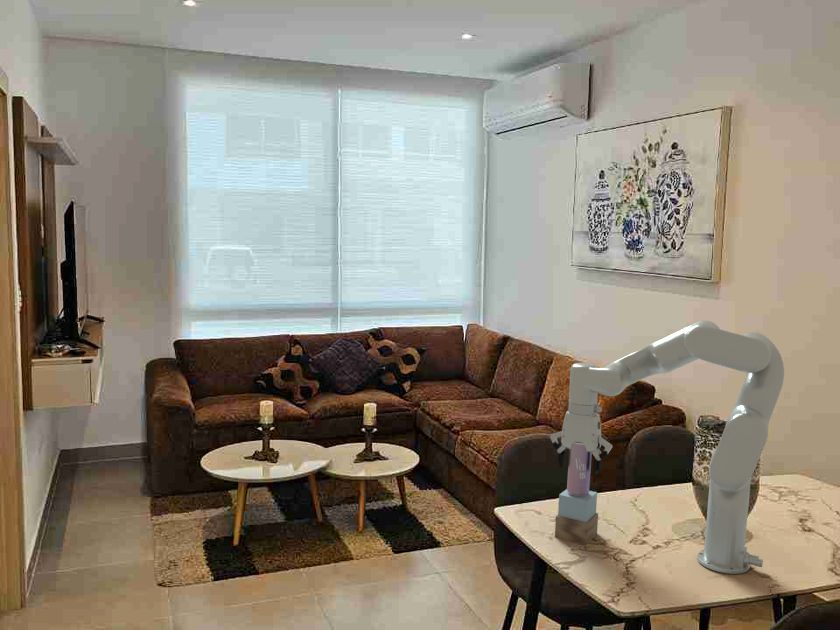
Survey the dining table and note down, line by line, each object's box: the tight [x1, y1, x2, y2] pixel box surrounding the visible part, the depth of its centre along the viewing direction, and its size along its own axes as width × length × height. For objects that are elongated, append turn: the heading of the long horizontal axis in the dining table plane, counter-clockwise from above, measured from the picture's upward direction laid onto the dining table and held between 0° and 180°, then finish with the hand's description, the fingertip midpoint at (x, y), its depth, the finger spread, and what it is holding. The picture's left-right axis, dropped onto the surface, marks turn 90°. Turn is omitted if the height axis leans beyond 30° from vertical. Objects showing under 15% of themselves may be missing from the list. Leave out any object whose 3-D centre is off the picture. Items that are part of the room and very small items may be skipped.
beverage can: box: [566, 442, 593, 497], centre depth 210 cm, size 6×6×15 cm
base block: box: [554, 512, 599, 546], centre depth 212 cm, size 9×9×6 cm
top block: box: [557, 488, 598, 522], centre depth 212 cm, size 8×8×6 cm
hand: (579, 469), depth 210 cm, fingers open, 9 cm apart
